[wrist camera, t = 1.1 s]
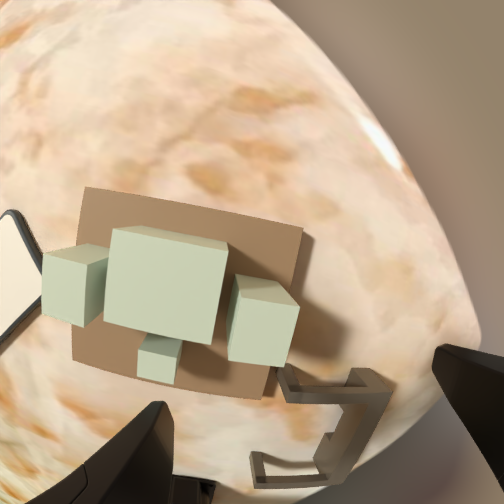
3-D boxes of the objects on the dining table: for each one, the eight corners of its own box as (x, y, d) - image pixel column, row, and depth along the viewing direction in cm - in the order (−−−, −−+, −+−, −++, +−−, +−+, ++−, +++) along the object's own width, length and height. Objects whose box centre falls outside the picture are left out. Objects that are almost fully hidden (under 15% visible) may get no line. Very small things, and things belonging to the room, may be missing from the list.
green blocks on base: (258, 390, 23) (273, 449, 15) (79, 352, 21) (39, 396, 13) (297, 227, 21) (336, 232, 14) (93, 188, 19) (40, 177, 12)
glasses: (369, 368, 24) (392, 391, 19) (329, 456, 25) (342, 483, 20) (278, 362, 23) (290, 391, 18) (249, 457, 24) (254, 488, 19)
